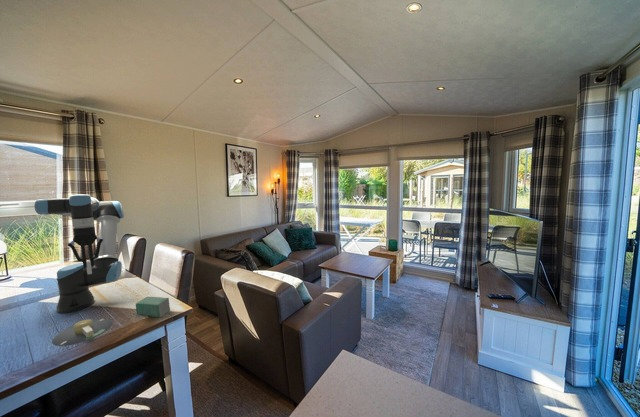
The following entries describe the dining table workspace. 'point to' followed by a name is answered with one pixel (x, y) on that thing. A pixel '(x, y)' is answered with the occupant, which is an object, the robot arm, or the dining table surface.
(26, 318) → the dining table surface
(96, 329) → the plate
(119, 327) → the dining table surface
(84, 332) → the round-headed handle
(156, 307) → the box
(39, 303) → the dining table surface
